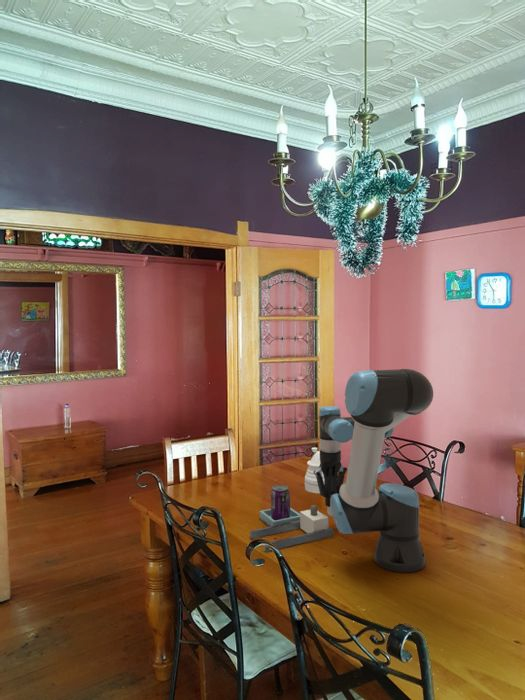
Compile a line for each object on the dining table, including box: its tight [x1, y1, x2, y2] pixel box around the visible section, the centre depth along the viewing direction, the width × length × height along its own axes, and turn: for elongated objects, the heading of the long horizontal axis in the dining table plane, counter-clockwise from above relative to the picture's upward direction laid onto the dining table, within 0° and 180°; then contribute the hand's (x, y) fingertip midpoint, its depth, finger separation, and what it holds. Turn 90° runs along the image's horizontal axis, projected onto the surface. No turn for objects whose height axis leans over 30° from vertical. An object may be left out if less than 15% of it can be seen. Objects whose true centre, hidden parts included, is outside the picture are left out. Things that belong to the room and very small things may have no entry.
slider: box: [299, 504, 329, 534], centre depth 181 cm, size 9×6×9 cm, turn 25°
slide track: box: [249, 520, 334, 553], centre depth 177 cm, size 12×26×2 cm, turn 115°
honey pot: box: [304, 447, 324, 494], centre depth 227 cm, size 13×13×18 cm
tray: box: [259, 507, 300, 527], centre depth 191 cm, size 12×12×3 cm
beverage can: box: [270, 484, 291, 520], centre depth 191 cm, size 7×7×12 cm
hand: (331, 514), depth 184 cm, fingers closed
